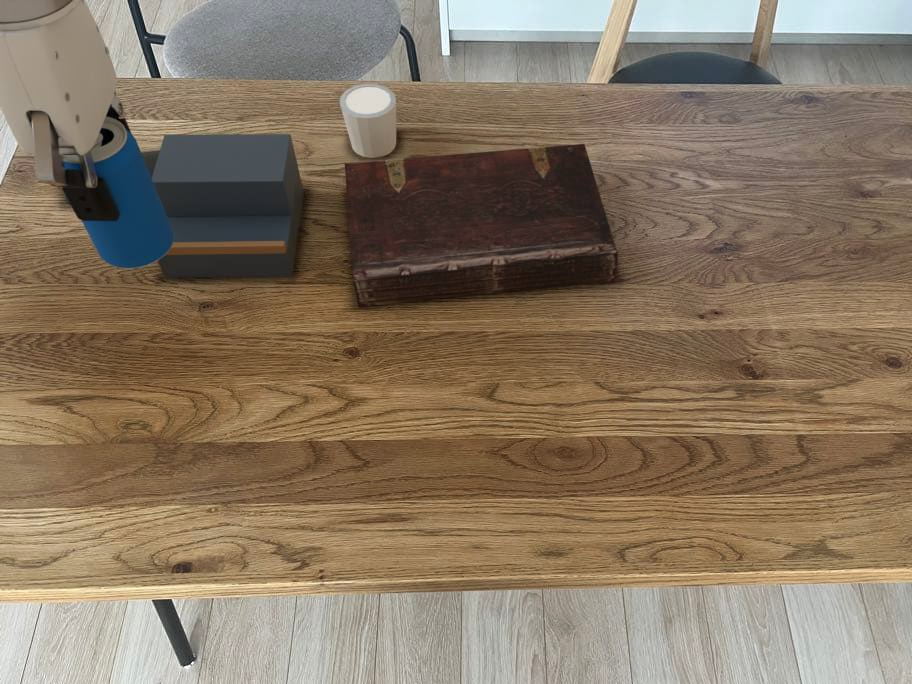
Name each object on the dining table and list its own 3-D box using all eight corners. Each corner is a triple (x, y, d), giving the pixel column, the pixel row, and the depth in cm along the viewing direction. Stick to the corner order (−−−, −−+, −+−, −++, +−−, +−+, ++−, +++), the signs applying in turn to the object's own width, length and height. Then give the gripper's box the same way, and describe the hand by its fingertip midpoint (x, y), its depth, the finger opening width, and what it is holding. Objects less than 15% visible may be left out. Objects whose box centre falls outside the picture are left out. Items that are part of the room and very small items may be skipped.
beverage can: (191, 248, 78) (148, 139, 68) (126, 286, 75) (72, 177, 65) (150, 212, 80) (103, 101, 71) (86, 247, 78) (28, 137, 68)
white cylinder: (339, 137, 113) (331, 90, 107) (389, 124, 115) (383, 77, 109) (358, 169, 109) (350, 123, 103) (409, 155, 111) (404, 108, 105)
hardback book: (359, 310, 96) (352, 279, 92) (350, 195, 106) (344, 163, 102) (613, 284, 100) (618, 253, 96) (581, 176, 110) (584, 143, 106)
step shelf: (166, 280, 97) (139, 221, 90) (187, 195, 105) (164, 134, 98) (293, 278, 98) (276, 219, 91) (304, 194, 106) (290, 133, 99)
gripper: (-3, -89, 62) (91, 121, 77) (-94, 54, 52) (33, 263, 67) (105, -85, 63) (178, 122, 77) (34, 57, 53) (133, 264, 67)
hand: (110, 186), depth 72 cm, fingers closed on beverage can, 6 cm apart
